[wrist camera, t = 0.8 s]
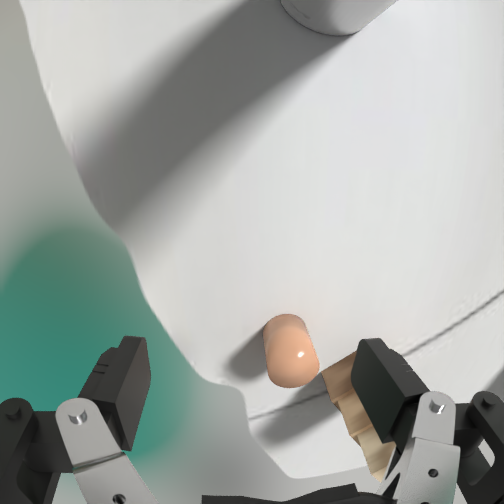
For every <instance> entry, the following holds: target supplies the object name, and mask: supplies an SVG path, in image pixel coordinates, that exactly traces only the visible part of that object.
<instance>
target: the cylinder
mask: <svg viewBox="0 0 504 504" xmlns="http://www.w3.org/2000/svg"><path fill="white" fill-rule="evenodd" d="M263 340H264V347H265V355H266V362H267V369H268V376H269V378H270V380H271V381H272V382H273V383H274V384H276V385H277V386H280V387H284V388H296V387H300V386H303V385H305V384H307V383H309V382H310V381H311V380H312V379H314V377H315V376H316V375H317V373H318V371H319V361H318V358H317V355H316V352H315V349H314V347H313V344H312V341H311V338H310V335H309V333H308V330H307V327H306V325H305V323H304V321H303V320H302V319H301V318H300V317H298V316H296V315H292V314H282V315H278V316H276V317H274V318H272V319H271V320H270V321H268V323H267V324H266V325H265V327H264V330H263Z"/></svg>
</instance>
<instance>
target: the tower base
mask: <svg viewBox="0 0 504 504" xmlns="http://www.w3.org/2000/svg"><path fill="white" fill-rule="evenodd" d="M356 352H357V351H355V352H353V353H352V354H350V355H348V356H347V357H345V358H343V359H342V360H340V361H338V362H337V363H335V364H333V365H332V366H330V367H328V368H326V369H325V370H323V371H321V373H322V376H323V379H324V381H325V384H326V387H327V390H328V393H329V396H330V399H331V401H332V402H333V403H334V405H335V406H336V407H337V408H338V409H339V410H340V407H339V404H338V401H337V400H339V399H341V398H343V397H345V396H346V395H348V394H350V393H352V392H353V391H355V390H354V388H353V386H352V383H351V371H352V367H353V363H354V360H355V356H356ZM340 411H341V410H340ZM341 413H342V412H341Z"/></svg>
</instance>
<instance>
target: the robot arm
mask: <svg viewBox="0 0 504 504" xmlns="http://www.w3.org/2000/svg"><path fill="white" fill-rule="evenodd" d="M280 1H281V4H282V6H283V7H284V8H285V10H286V11H287V13H288V14H289V15H291V16H292V17H293V18H294V19H295V20H296V21H298V22H299V23H300V24H302V25H303V26H305V27H307V28H309V29H311V30H313V31H317V32H320V33H323V34H328V35H348V34H353V33H355V32H357V31H360V30H361V29H362V28H364V27H365V26H366V25H367V24H369V23H370V22H371V21H372V20H373V19H375V18H376V17H377V16H378V15H380V14H381V13H382V12H384V11H385V10H386V9H388V8H389V7H390V6H391V5H393V4H394V3H395V2H396V1H398V0H280ZM150 381H151V372H150V365H149V358H148V351H147V343H146V339H145V338H144V337H136V336H124V337H123V339H122V341H121V343H120V345H119V347H118V348H114V347H111V348H110V349H108V350H107V351H105V352H104V353H103V354H101V356H100V358H99V360H98V361H97V364H96V365H95V367H94V368H93V370H92V372H91V374H90V376H89V377H88V379H87V381H86V383H85V385H84V386H83V388H82V390H81V392H80V394H79V396H78V397H77V398H73V399H70V400H67V401H65V402H63V403H62V404H61V405H60V406H59V407H58V409H57V410H56V411H33V409H32V407H31V405H30V403H29V402H28V401H26V400H24V399H22V398H11V399H7V400H6V401H4V402H2V403H1V404H0V504H52V501H53V497H54V494H55V491H56V487H57V484H58V481H59V477H60V474H61V473H73V474H74V476H75V479H76V481H77V483H78V485H79V487H80V490H81V492H82V494H83V496H84V498H85V500H86V502H87V504H159V502H158V501H157V500H156V498H155V497H154V496H153V494H152V493H151V492H150V490H149V489H148V487H147V486H146V485H145V483H144V482H143V480H142V479H141V477H140V476H139V474H138V473H137V471H136V470H135V468H134V467H133V465H132V464H131V462H130V460H129V459H128V457H127V456H126V454H125V453H124V452H122V451H121V450H126V451H131V450H132V446H133V442H134V439H135V435H136V432H137V428H138V425H139V421H140V418H141V414H142V410H143V407H144V404H145V400H146V397H147V394H148V390H149V387H150ZM351 383H352V386H353V388H354V390H355V392H356V394H357V396H358V397H359V399H360V401H361V403H362V405H363V407H364V409H365V411H366V413H367V415H368V417H369V419H370V421H371V423H372V425H373V427H374V429H375V430H376V432H377V434H378V436H379V438H380V440H381V442H382V444H385V443H389V442H393V441H394V442H395V444H396V446H395V447H394V449H393V451H392V454H391V457H390V460H389V463H388V466H387V469H386V471H385V474H384V477H383V479H382V482H381V484H380V486H379V489H378V490H377V492H376V494H373V493H367V492H358V491H357V489H356V486H355V483H353V484H348V485H343V486H338V487H333V488H326V489H320V490H317V491H315V492H312V493H309V494H306V495H303V496H301V497H298V498H295V499H291V500H288V501H284V502H277V501H270V500H262V499H256V498H250V497H244V496H208V495H202V504H453V500H454V495H455V489H456V483H457V484H458V486H459V488H460V490H461V492H462V494H463V496H464V498H465V500H466V502H467V504H504V403H503V402H502V401H501V399H500V398H499V397H498V396H496V395H495V394H493V393H490V392H487V391H481V392H478V393H476V394H475V395H474V397H473V399H472V400H471V402H470V403H460V404H455V403H454V401H453V400H452V399H451V398H450V397H449V396H448V395H446V394H444V393H441V392H437V391H430V390H429V389H428V388H427V387H426V385H425V384H424V383H423V382H422V380H421V379H420V378H419V377H418V375H417V374H416V373H415V372H414V371H413V369H412V368H411V367H410V365H408V363H407V362H406V360H405V359H404V358H403V357H402V356H401V355H400V354H398V353H397V352H395V351H394V350H392V349H389V348H388V347H387V346H386V344H385V343H384V342H383V341H382V339H380V338H372V339H362V340H361V341H360V342H359V345H358V348H357V352H356V356H355V360H354V363H353V367H352V371H351ZM483 439H485V441H486V442H487V444H488V445H489V447H490V448H491V450H492V451H493V453H494V456H495V461H494V464H493V466H492V467H490V465H489V463H488V462H487V460H486V459H485V457H484V456H483V454H482V453H481V451H480V450H479V448H478V446H479V445H480V444H481V442H482V441H483Z"/></svg>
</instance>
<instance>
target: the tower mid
mask: <svg viewBox="0 0 504 504" xmlns="http://www.w3.org/2000/svg"><path fill="white" fill-rule="evenodd" d="M337 401H338V404H339V407H340V410H341V412H342V415H343V418H344V421H345V424H346V426H347V429H348V432H349V435H350V436H351V437H352V438H353V439H354V440H355V441H356V442H357V443H358V444H359V446H360V447H361V445H360V442H359V439H358V437H357V434H359V433H361V432H362V431H364V430H366V429H368V428H370V427H372V426H373V425H372V423H371V421H370V419H369V417H368V415H367V413H366V411H365V409H364V407H363V405H362V403H361V401H360V399H359V397H358V396H357V394H356V392H355V391H353V392H352V393H350V394H348V395H346V396H345V397H343V398H341V399H339V400H337Z"/></svg>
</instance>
